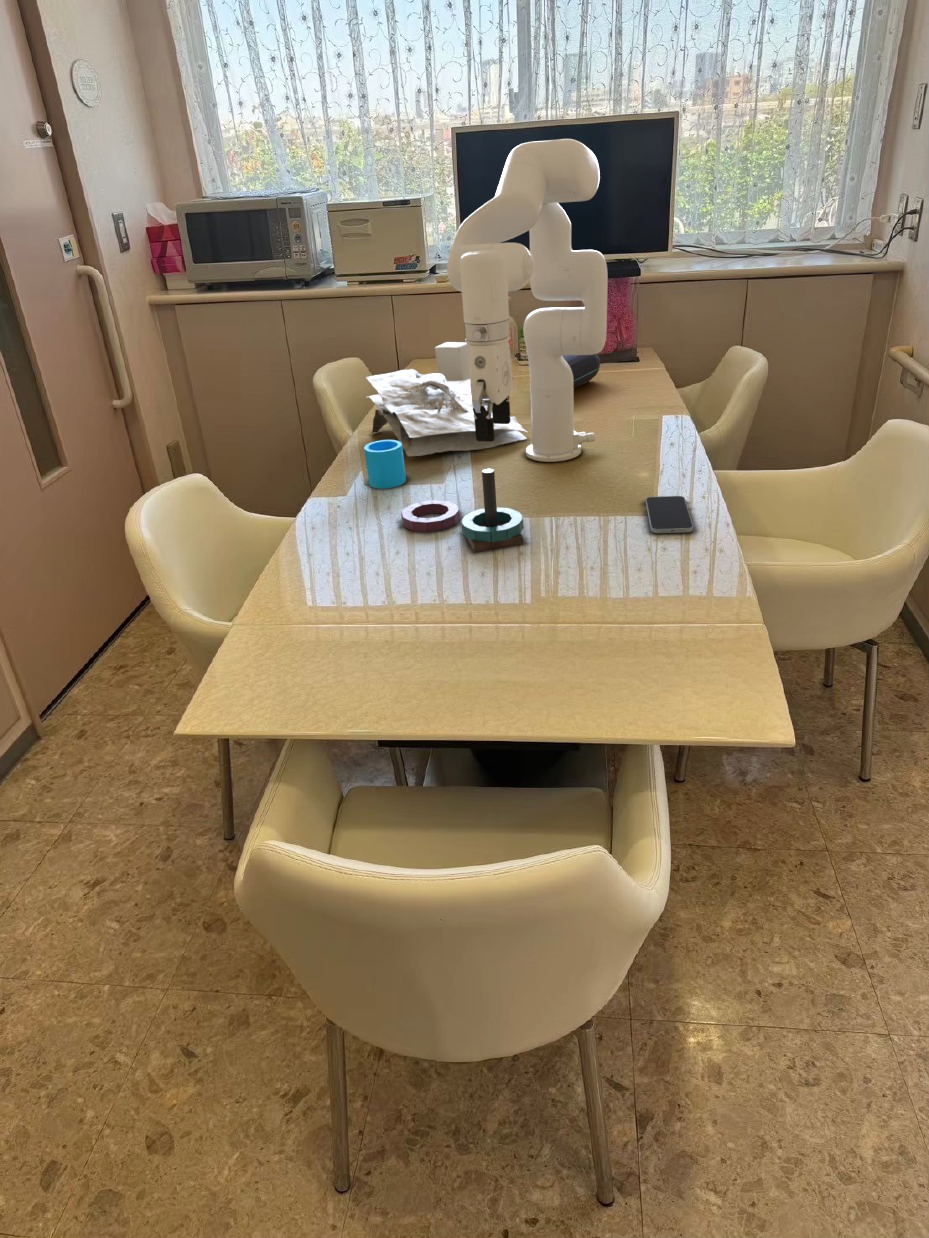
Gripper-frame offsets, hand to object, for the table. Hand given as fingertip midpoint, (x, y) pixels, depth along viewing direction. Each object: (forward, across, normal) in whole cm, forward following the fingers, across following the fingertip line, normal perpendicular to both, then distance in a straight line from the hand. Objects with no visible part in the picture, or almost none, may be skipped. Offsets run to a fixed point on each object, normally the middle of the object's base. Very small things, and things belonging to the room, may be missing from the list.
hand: (493, 431), depth 146 cm
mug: (+19, +22, +32) cm, 43 cm away
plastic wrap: (+19, +54, +31) cm, 65 cm away
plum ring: (+18, +2, +14) cm, 24 cm away
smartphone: (+19, +10, -30) cm, 36 cm away
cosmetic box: (+19, +85, +38) cm, 95 cm away
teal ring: (+17, -4, 0) cm, 17 cm away
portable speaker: (+19, +97, +9) cm, 99 cm away
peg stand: (+18, -5, 0) cm, 19 cm away
